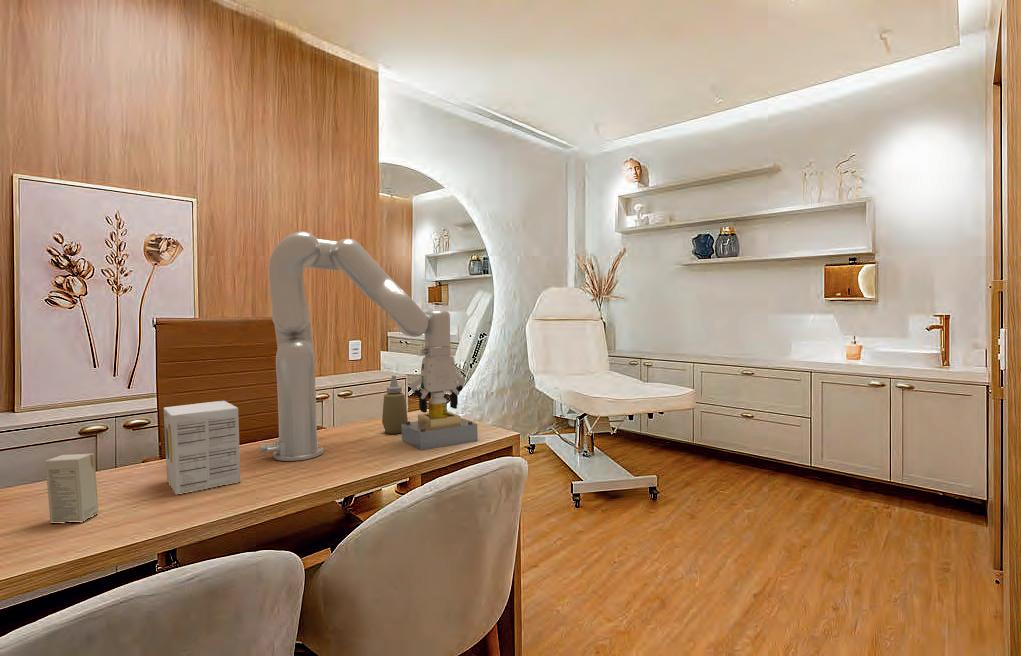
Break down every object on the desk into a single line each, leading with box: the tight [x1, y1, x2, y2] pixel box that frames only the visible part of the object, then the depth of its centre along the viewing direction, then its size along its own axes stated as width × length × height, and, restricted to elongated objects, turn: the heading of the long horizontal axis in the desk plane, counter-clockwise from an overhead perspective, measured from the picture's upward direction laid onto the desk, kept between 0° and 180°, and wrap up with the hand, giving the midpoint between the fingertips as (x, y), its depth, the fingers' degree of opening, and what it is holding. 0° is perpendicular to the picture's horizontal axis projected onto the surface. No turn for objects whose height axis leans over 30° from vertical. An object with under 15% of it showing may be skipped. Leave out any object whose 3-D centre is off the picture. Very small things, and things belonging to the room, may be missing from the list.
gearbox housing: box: [401, 410, 479, 451], centre depth 159 cm, size 18×14×8 cm
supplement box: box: [163, 400, 241, 495], centre depth 123 cm, size 13×13×18 cm
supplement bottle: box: [428, 391, 448, 419], centre depth 158 cm, size 5×5×10 cm
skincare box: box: [44, 452, 100, 522], centre depth 102 cm, size 6×4×12 cm
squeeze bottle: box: [381, 375, 409, 435], centre depth 170 cm, size 8×8×18 cm
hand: (438, 409), depth 158 cm, fingers open, 9 cm apart
